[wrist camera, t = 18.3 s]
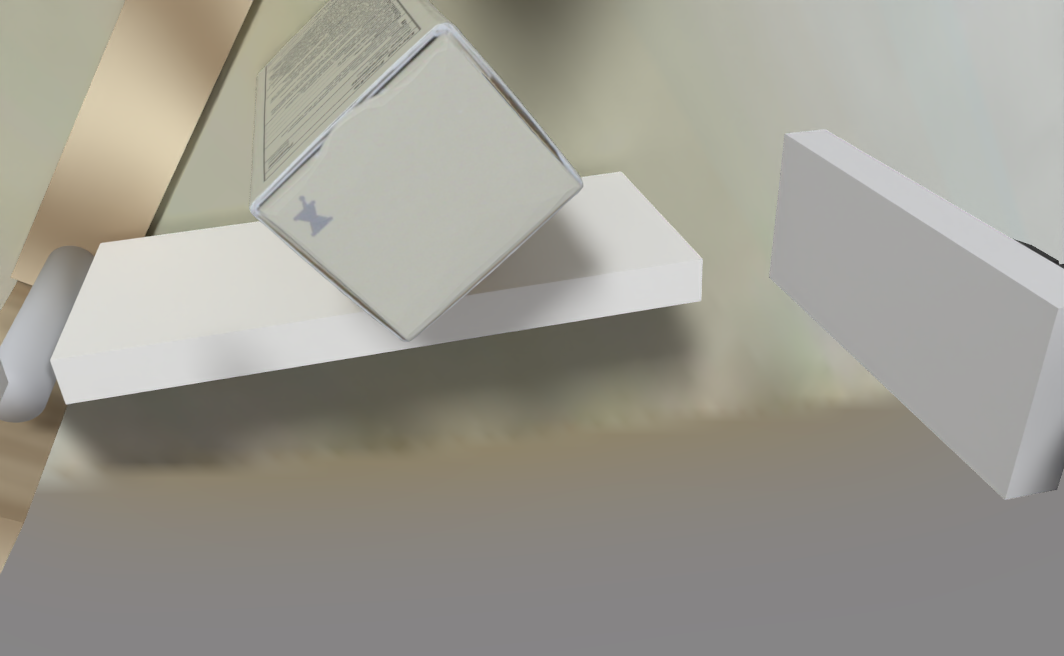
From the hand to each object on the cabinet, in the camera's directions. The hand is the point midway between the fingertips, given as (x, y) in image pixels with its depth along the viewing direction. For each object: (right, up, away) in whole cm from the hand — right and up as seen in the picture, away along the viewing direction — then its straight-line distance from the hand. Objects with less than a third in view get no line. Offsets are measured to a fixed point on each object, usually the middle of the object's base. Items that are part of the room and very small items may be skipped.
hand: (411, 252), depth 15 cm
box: (-3, +6, +12) cm, 14 cm away
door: (-4, +1, +13) cm, 14 cm away
